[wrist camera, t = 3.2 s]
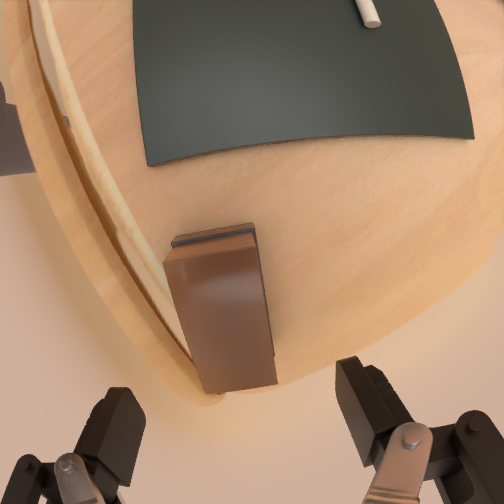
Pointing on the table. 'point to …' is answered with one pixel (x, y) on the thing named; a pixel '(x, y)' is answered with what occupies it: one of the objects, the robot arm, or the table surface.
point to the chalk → (368, 13)
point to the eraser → (223, 307)
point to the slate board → (291, 74)
